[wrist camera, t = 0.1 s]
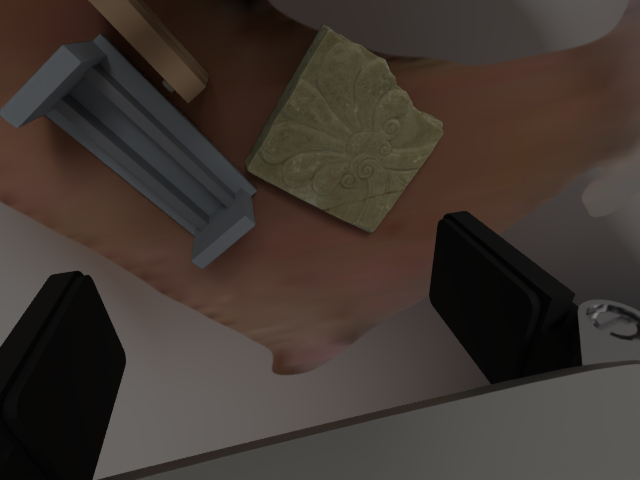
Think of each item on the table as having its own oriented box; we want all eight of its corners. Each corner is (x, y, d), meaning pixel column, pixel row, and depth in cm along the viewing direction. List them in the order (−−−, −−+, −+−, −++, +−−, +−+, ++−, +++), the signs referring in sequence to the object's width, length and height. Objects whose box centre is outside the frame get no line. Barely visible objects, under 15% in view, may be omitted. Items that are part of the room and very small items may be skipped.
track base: (36, 102, 38) (-11, 121, 31) (102, 33, 37) (70, 35, 29) (199, 236, 49) (195, 275, 42) (256, 188, 48) (262, 219, 40)
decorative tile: (366, 227, 55) (374, 239, 52) (242, 162, 46) (244, 172, 43) (447, 115, 49) (461, 121, 46) (323, 17, 41) (331, 17, 38)
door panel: (89, -12, 35) (52, -22, 27) (111, -35, 34) (79, -52, 27) (189, 93, 41) (181, 109, 33) (209, 75, 41) (206, 86, 33)
